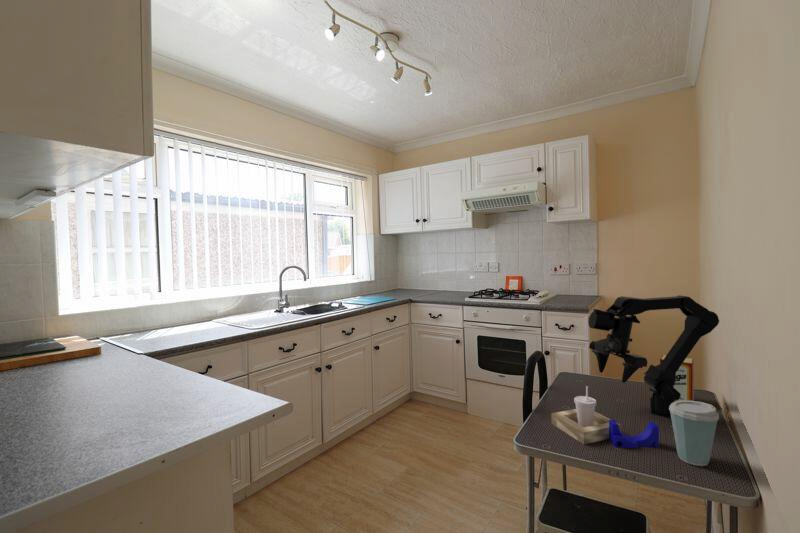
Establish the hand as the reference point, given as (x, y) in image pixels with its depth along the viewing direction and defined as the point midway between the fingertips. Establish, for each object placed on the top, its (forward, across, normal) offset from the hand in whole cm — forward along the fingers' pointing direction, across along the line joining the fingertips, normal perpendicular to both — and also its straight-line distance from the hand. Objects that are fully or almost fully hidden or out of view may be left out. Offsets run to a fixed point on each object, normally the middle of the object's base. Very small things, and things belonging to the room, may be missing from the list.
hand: (611, 377), depth 130 cm
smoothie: (+15, +7, -15) cm, 23 cm away
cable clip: (+13, +19, -9) cm, 25 cm away
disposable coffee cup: (+11, +30, -2) cm, 32 cm away
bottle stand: (+15, +7, -15) cm, 23 cm away
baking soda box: (+7, +2, +31) cm, 32 cm away
